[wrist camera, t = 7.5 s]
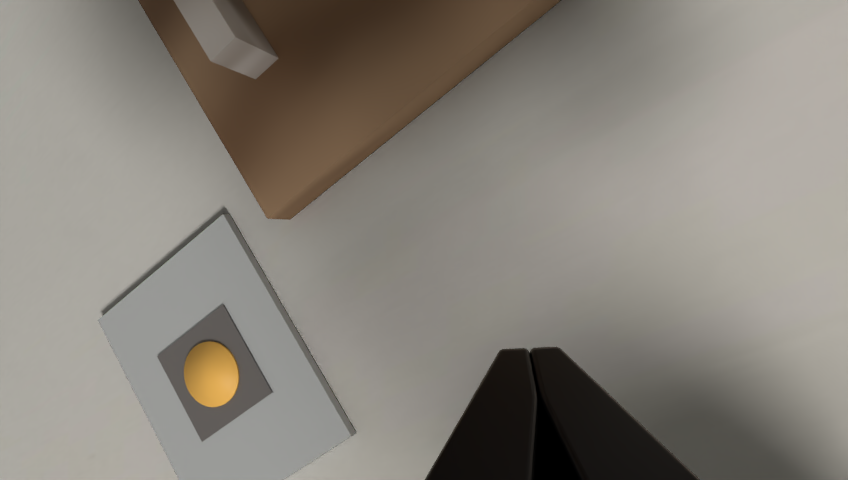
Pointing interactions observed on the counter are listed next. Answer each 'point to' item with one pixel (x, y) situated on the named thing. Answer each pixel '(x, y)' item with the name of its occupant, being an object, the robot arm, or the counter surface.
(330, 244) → the counter surface
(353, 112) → the wooden block stand
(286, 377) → the pattern card
